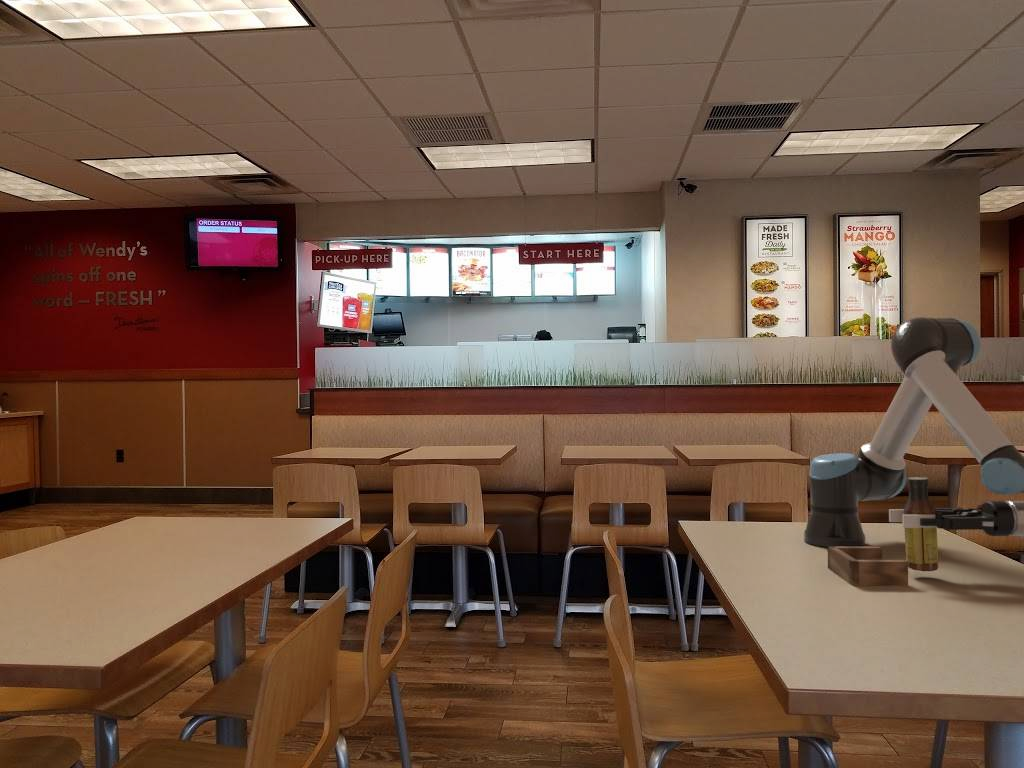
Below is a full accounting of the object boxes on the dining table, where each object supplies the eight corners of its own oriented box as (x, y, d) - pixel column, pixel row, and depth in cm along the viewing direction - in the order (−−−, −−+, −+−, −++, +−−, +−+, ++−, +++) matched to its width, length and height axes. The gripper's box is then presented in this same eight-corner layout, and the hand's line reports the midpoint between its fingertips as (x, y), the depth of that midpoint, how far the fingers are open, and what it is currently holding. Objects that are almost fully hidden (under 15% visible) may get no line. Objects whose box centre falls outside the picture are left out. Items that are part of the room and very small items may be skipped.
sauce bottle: (937, 566, 168) (936, 476, 168) (939, 573, 162) (938, 480, 162) (903, 564, 170) (902, 475, 170) (905, 570, 165) (904, 479, 165)
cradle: (879, 568, 175) (879, 546, 175) (908, 585, 160) (907, 561, 160) (827, 568, 176) (827, 546, 176) (851, 585, 161) (851, 561, 161)
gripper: (1033, 545, 155) (916, 544, 157) (982, 527, 174) (878, 527, 176) (1033, 508, 155) (916, 508, 157) (982, 494, 174) (878, 494, 176)
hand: (896, 518), depth 167 cm, fingers closed on sauce bottle, 6 cm apart
